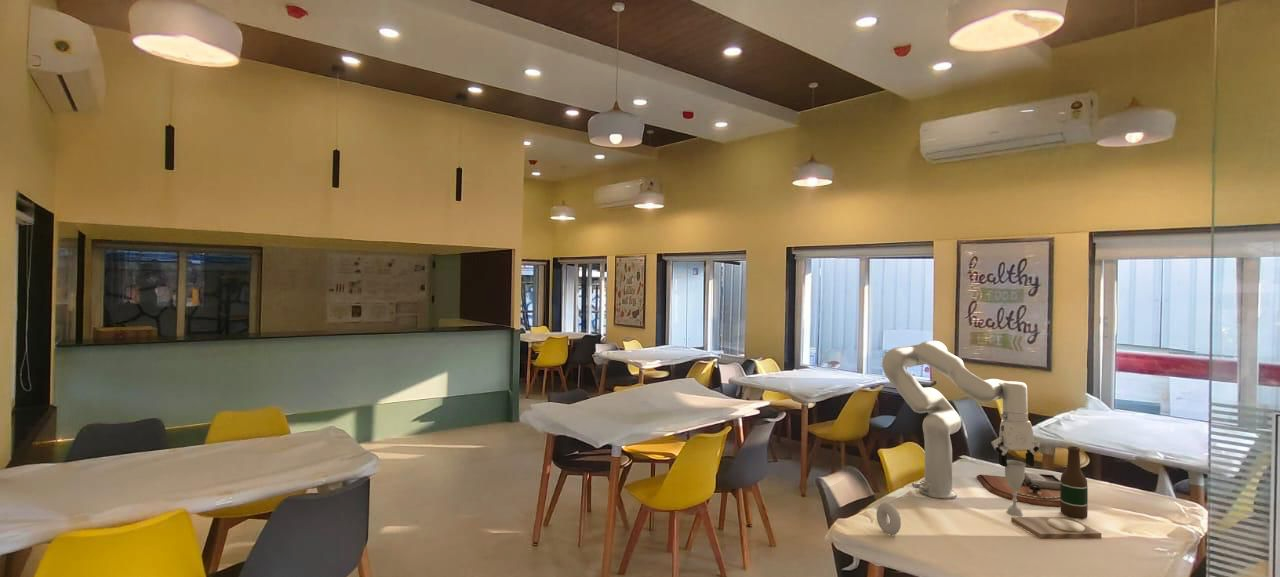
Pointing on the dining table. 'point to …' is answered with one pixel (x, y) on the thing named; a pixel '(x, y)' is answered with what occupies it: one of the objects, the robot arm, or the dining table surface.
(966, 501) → the dining table surface
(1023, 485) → the wooden control board
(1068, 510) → the beer bottle
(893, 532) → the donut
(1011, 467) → the chalice
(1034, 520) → the walnut board
